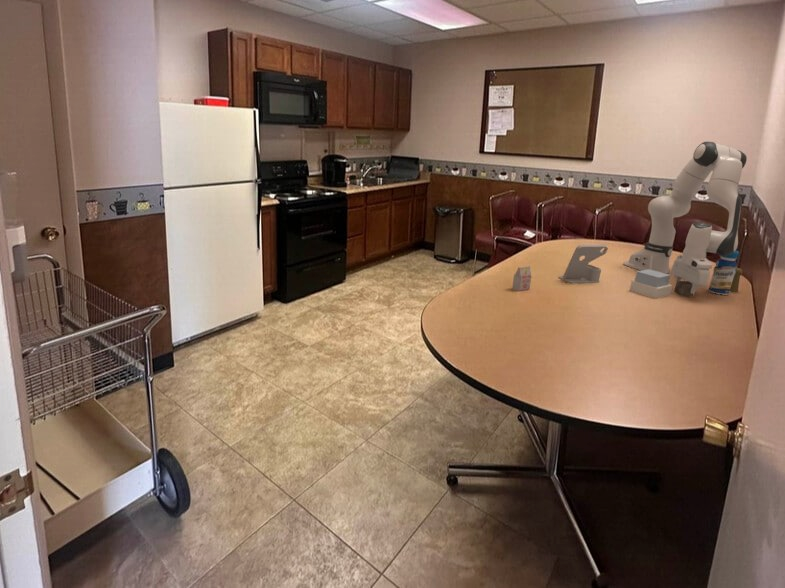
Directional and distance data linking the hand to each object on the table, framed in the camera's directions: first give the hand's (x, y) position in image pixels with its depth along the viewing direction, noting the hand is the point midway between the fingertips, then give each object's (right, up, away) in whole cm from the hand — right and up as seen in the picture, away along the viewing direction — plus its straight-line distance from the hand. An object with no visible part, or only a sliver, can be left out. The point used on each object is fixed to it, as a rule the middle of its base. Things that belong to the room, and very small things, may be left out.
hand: (684, 289), depth 219 cm
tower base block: (-16, -2, -1) cm, 16 cm away
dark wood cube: (0, -2, +1) cm, 2 cm away
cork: (+28, 0, +12) cm, 31 cm away
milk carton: (-76, 0, -8) cm, 76 cm away
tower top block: (-16, +3, -2) cm, 16 cm away
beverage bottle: (+20, -1, +7) cm, 21 cm away
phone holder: (-43, +4, +12) cm, 45 cm away
